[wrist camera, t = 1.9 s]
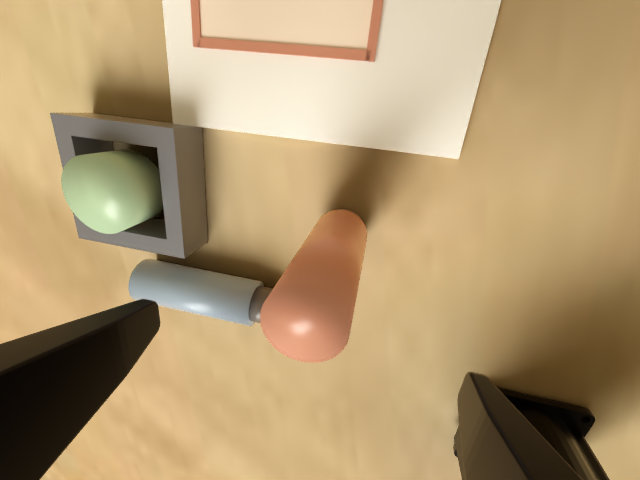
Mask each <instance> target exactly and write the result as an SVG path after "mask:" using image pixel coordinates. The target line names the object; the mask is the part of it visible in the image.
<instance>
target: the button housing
mask: <svg viewBox="0 0 640 480" xmlns="http://www.w3.org/2000/svg"><path fill="white" fill-rule="evenodd" d="M50 115H51V119H52V123H53V128H54V132H55V136H56V141H57V145H58V149H59V154H60V158H61V162H62V167H63V169H64V167H65V165H66V163H67V162H68V161H69V160H70V159H71V158H73V157H75V156H78V155H85V154H92V153H99V152H107V151H113V146H112V141H114V142H121V143H128V144H135V145H143V146H150V147H157V153H158V162H159V171H160V180H161V190H162V199H163V208H164V217H165V220H161V219H156V218H151V219H148V220H146V221H144V222H141V223H139V224H137V225H135V226H132V227H130V228H128V229H125V230H123V231H121V232H118V233H115V234H105V233H100V232H98V231H95V230H93V229H91V228H90V227H88V226H87V225H85V224H84V223H83V222H82V221H81V220H79V219H78V217H77V216H76V215H75V214H74V213H73V214H74V219H75V223H76V227H77V232H78V236H79V238H81V239H86V240H92V241H97V242H102V243H107V244H112V245H117V246H122V247H127V248H132V249H137V250H143V251H148V252H153V253H158V254H163V255H168V256H173V257H178V258H183V259H185V258H186V257H188V256H189V255H190V254H192V253H193V252H195V251H196V250H198V249H199V248H200V247H202V246H203V245H205V244H206V243H207V242H208V232H207V213H206V193H205V174H204V154H203V135H202V127H196V126H188V125H179V124H173V123H170V122H161V121H153V120H145V119H137V118H129V117H121V116H113V115H105V114H97V113H50Z"/></svg>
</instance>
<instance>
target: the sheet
mask: <svg viewBox="0 0 640 480" xmlns="http://www.w3.org/2000/svg"><path fill="white" fill-rule="evenodd" d="M162 2H163V14H164V26H165V37H166V49H167V60H168V72H169V84H170V95H171V107H172V119H173V124H179V125H188V126H196V127H204V128H212V129H220V130H228V131H236V132H244V133H252V134H260V135H268V136H276V137H285V138H293V139H301V140H309V141H317V142H325V143H333V144H341V145H349V146H357V147H365V148H374V149H382V150H390V151H398V152H406V153H414V154H422V155H430V156H438V157H446V158H454V159H459V156H460V152H461V149H462V145H463V141H464V137H465V134H466V130H467V126H468V123H469V119H470V115H471V111H472V108H473V104H474V100H475V97H476V93H477V89H478V85H479V82H480V78H481V74H482V71H483V67H484V63H485V59H486V56H487V52H488V48H489V45H490V41H491V37H492V33H493V30H494V26H495V22H496V19H497V15H498V11H499V7H500V4H501V0H162Z"/></svg>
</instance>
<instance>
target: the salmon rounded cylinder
mask: <svg viewBox="0 0 640 480" xmlns="http://www.w3.org/2000/svg"><path fill="white" fill-rule="evenodd" d="M366 241H367V230H366V227H365V225H364V223H363V221H362V220H361V218H360V217H359V216H358V215H357V214H356V213H355V212H354V211H352V210H349V209H337V210H333V211H330V212H327V213H326V214H324V215H323V216H322V217H321V218H320V219H319V221H318V222H317V224H316V225H315V227H314V228H313V230H312V231H311V233H310V234H309V236H308V237H307V239H306V240H305V242H304V243H303V245H302V246H301V248H300V249H299V251H298V252H297V254H296V255H295V257H294V258H293V260H292V261H291V263H290V264H289V266H288V267H287V269H286V270H285V272H284V273H283V275H282V276H281V278H280V279H279V281H278V282H277V284H276V285H275V287H274V288H273V290H272V291H271V293H270V294H269V296H268V297H267V299H266V300H265V302H264V303H263V306H262V308H261V313H260V322H261V327H262V330H263V332H264V334H265V336H266V338H267V339H268V341H269V342H270V343H271V344H272V345H273V346H274V347H275V348H276V349H277V350H278V351H280V352H281V353H283V354H284V355H286V356H288V357H290V358H292V359H295V360H299V361H303V362H322V361H326V360H329V359H331V358H333V357H335V356H337V355H338V354H339V353H340V352H341V351H342V350H343V349H344V347H345V346H346V344H347V342H348V339H349V334H350V329H351V323H352V318H353V312H354V307H355V302H356V296H357V291H358V285H359V280H360V274H361V269H362V263H363V258H364V252H365V247H366Z"/></svg>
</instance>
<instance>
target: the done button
mask: <svg viewBox="0 0 640 480" xmlns="http://www.w3.org/2000/svg"><path fill="white" fill-rule="evenodd" d="M61 182H62V189H63V193H64V196H65V199H66V201H67V203H68V205H69V207H70V208H71V210H72V211H73V213H74V214H75V215H76V216H77V217H78V219H79V220H81V221H82V222H83V223H84V224H85V225H87V226H88V227H90V228H91V229H93V230H95V231H98V232H100V233H105V234H115V233H118V232H121V231H123V230H125V229H128V228H130V227H132V226H135V225H137V224H139V223H141V222H144V221H146V220H148V219H151V218H153V217H155V216H157V215H158V214H159V213H160V212H161V211H162V209H163V199H162V190H161V180H160V172H159V170H158V168H157V167H156V166H155V165H154V163H153V162H152V161H151V160H150V159H148V158H147V157H146V156H144V155H143V154H141V153H139V152H137V151H134V150H129V149H122V150H114V151H107V152H99V153H92V154H85V155H78V156H75V157H73V158H71V159H70V160H69V161H68V162H67V163H66V165H65V167H64V169H63V172H62V179H61Z"/></svg>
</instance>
